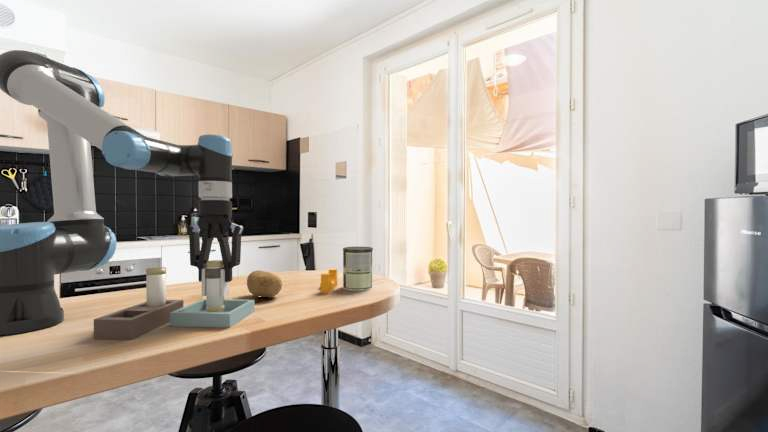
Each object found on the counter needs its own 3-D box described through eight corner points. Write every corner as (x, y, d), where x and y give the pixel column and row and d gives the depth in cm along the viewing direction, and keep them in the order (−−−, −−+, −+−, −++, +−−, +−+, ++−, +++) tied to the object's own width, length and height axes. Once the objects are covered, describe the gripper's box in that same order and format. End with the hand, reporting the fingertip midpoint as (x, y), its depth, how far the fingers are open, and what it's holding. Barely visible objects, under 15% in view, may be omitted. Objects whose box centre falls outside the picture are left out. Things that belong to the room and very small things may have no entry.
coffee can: (337, 288, 132) (337, 247, 132) (361, 284, 138) (361, 246, 138) (354, 292, 124) (354, 249, 124) (378, 288, 130) (378, 248, 130)
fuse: (141, 320, 89) (142, 269, 89) (153, 316, 93) (153, 267, 93) (158, 321, 88) (158, 269, 88) (169, 316, 92) (169, 267, 92)
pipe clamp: (325, 286, 134) (325, 268, 134) (337, 287, 134) (337, 269, 134) (315, 294, 122) (315, 274, 122) (328, 294, 122) (328, 274, 122)
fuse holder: (93, 338, 77) (93, 319, 77) (152, 315, 95) (152, 299, 95) (131, 339, 77) (131, 320, 77) (183, 316, 95) (183, 300, 95)
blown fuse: (202, 312, 91) (202, 262, 91) (211, 307, 95) (211, 260, 95) (219, 312, 91) (219, 262, 90) (227, 308, 95) (227, 260, 95)
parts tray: (169, 326, 86) (169, 312, 86) (202, 310, 100) (202, 298, 100) (229, 327, 85) (229, 314, 85) (254, 311, 99) (254, 299, 99)
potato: (259, 304, 107) (259, 276, 107) (239, 296, 118) (239, 270, 118) (290, 299, 114) (290, 272, 114) (269, 292, 124) (269, 267, 124)
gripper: (172, 198, 89) (172, 297, 89) (242, 199, 88) (242, 299, 88) (190, 200, 97) (190, 291, 97) (255, 200, 96) (255, 292, 96)
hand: (215, 294), depth 93 cm, fingers closed on blown fuse, 4 cm apart
